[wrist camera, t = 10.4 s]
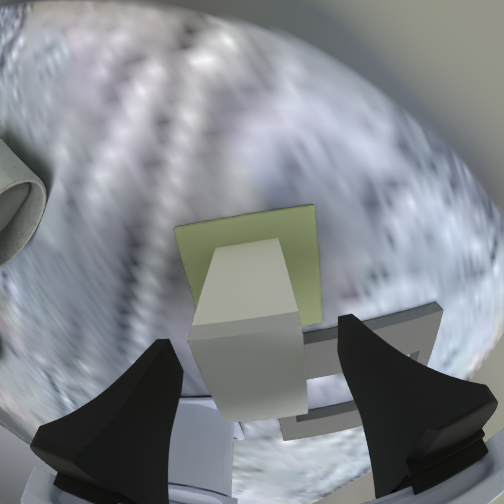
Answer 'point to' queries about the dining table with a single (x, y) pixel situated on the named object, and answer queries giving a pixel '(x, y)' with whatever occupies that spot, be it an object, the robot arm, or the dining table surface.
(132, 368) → the robot arm
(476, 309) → the dining table surface
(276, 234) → the rubber mat
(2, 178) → the ceramic mug
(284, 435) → the grey square frame
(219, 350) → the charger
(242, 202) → the dining table surface
